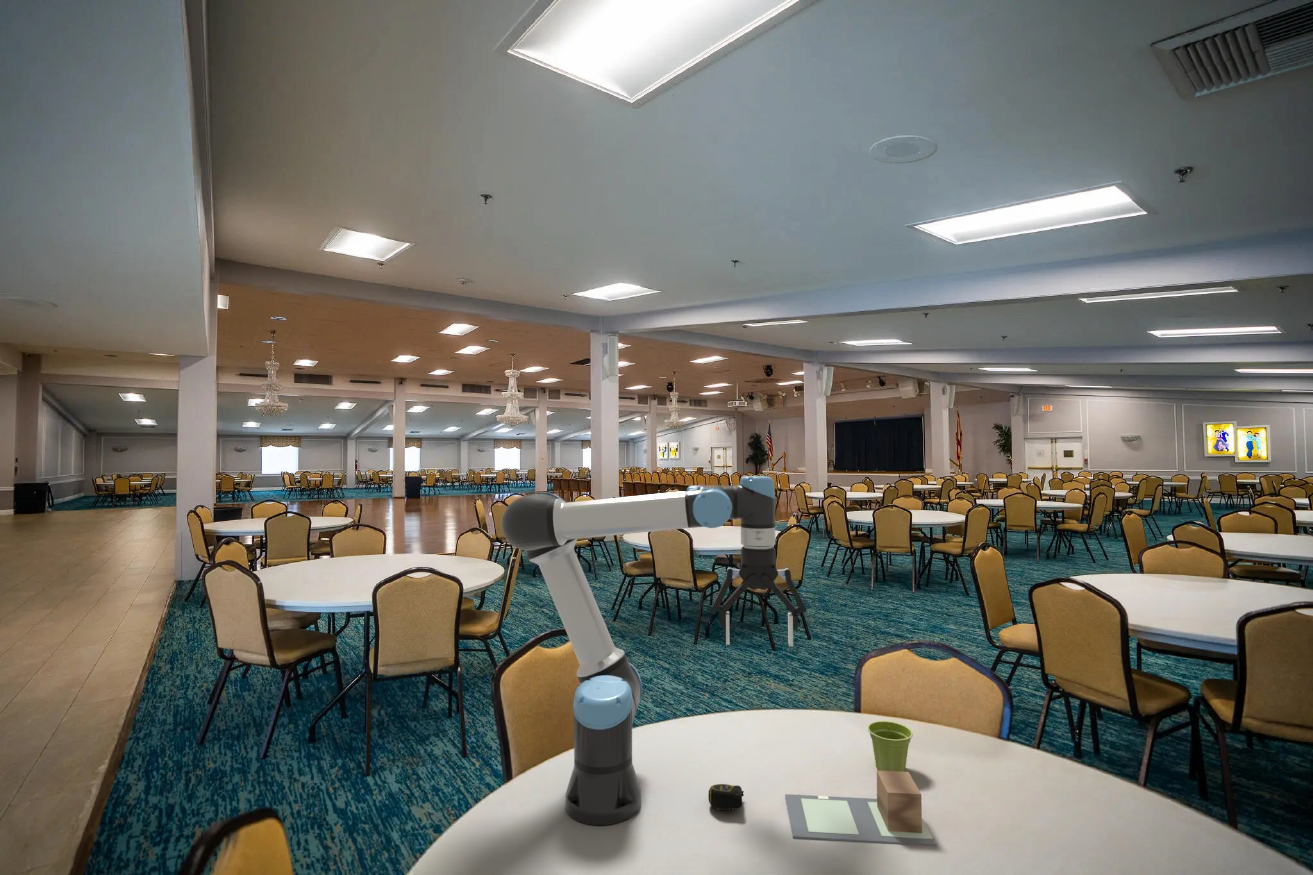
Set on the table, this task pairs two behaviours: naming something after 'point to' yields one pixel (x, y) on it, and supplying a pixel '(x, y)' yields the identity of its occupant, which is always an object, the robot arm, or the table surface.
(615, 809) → the robot arm
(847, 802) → the grey flat panel
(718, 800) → the tape measure
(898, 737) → the plant pot
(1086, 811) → the table surface
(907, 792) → the walnut block
